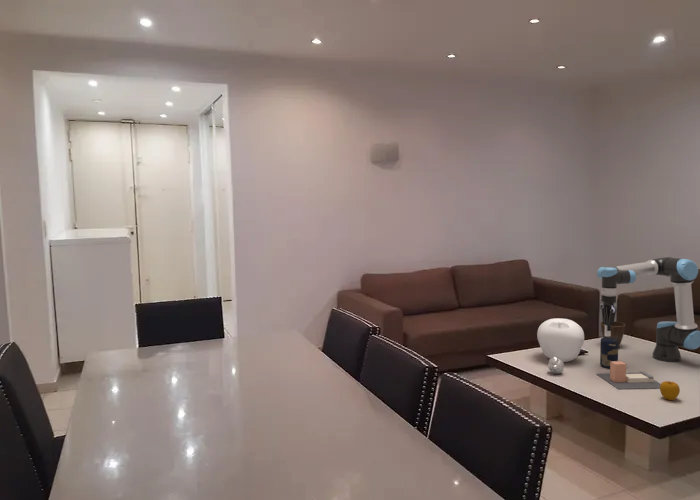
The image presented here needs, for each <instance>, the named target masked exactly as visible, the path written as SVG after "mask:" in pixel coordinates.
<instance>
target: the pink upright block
mask: <svg viewBox="0 0 700 500" xmlns="http://www.w3.org/2000/svg"><path fill="white" fill-rule="evenodd" d="M609 369H610V370H609V373H610V379H611V380H612V381H614V382H626V373H627V363H625V362H623V361H621V360H620V361H619V360H618V361H610V368H609Z"/></svg>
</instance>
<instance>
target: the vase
mask: <svg viewBox="0 0 700 500" xmlns="http://www.w3.org/2000/svg"><path fill="white" fill-rule="evenodd" d="M536 335H537V341H538V344H539V346H540V349H541V351H542V352H543V354H544V356H546V357H547V358H549V359H551V358H552V357H557V358H558V359H560V360H562V361H563V363H568V362H570V361H572V360H575V359H576V358H577V357H578V355H579V353H580V352H581V350H582V347H583V345H584V342H585V333H584V330H583V328H582V326H580V325H579V324H578V323H577V322H575V321H574V320H572V319H568V318H558V317H557V318H550V319H547V320H545V321H544V322H542V323H541V324H540V325H539V327H538V329H537V332H536Z"/></svg>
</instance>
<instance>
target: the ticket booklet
mask: <svg viewBox="0 0 700 500" xmlns="http://www.w3.org/2000/svg"><path fill="white" fill-rule="evenodd" d="M639 373H641V374H626V382H628V383H639V382H654V380H655V377H654V376H653V375H651V374H650V373H648V372H645V371H640V372H639Z"/></svg>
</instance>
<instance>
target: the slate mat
mask: <svg viewBox="0 0 700 500" xmlns="http://www.w3.org/2000/svg"><path fill="white" fill-rule="evenodd" d="M626 374H641V373H640V372H626ZM596 376H598V377H599V378H601V379H602V380H604V381H605V382H607V383H608V384H610V385H611V386H612V387H614V388H615V389H616V390H656V389H657V390H658V389H659V390H660V385H661V383H660V382H659V381H656V380H655V379H654V382H639V383H628V382H614V381H612V380H611V379H610V372H609V373H607V372H605V373H596Z"/></svg>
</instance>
